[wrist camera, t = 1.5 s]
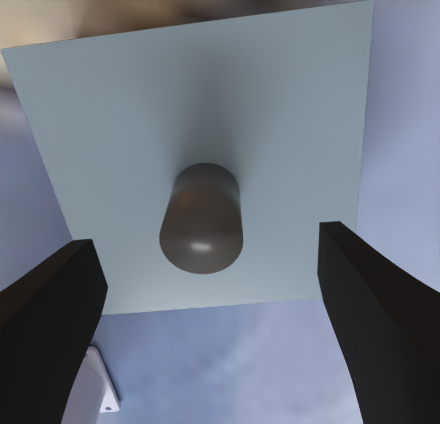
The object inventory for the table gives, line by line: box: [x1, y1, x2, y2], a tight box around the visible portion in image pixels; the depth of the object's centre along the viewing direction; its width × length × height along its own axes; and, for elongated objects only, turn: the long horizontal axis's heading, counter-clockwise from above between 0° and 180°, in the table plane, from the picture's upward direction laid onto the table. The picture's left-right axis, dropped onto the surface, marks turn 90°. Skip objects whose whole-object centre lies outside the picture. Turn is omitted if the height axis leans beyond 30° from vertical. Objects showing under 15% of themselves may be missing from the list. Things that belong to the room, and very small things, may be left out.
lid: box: [0, 0, 374, 315], centre depth 14 cm, size 13×13×5 cm
